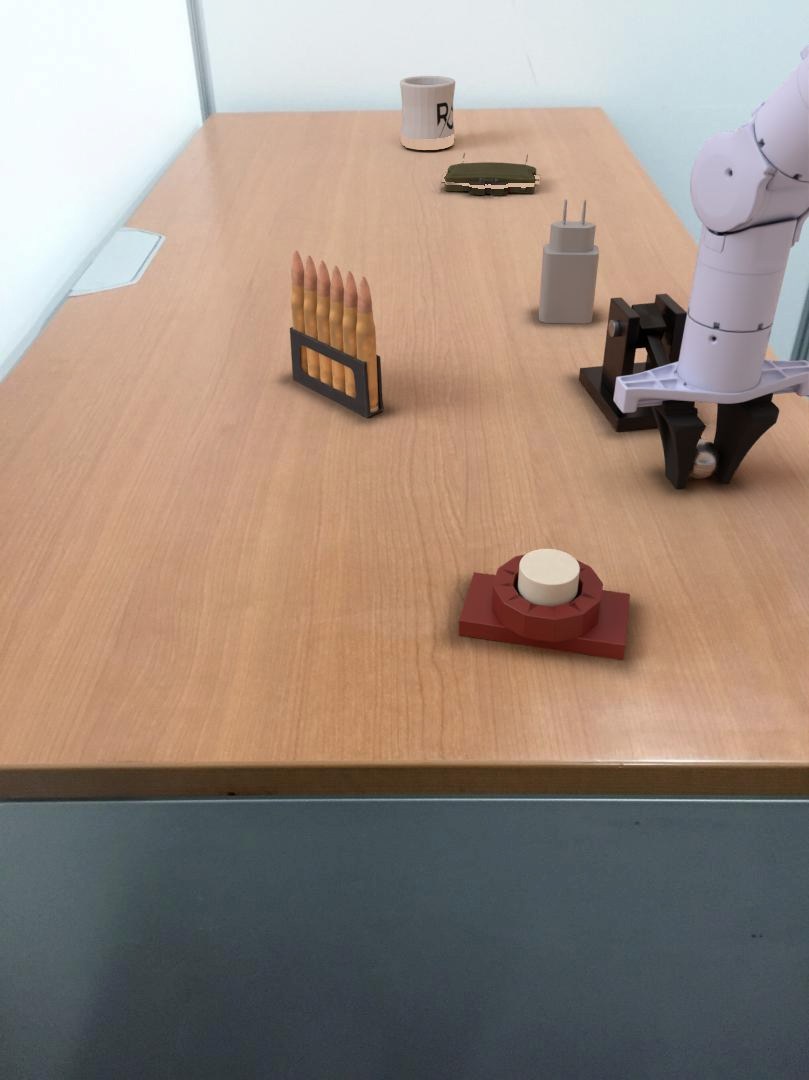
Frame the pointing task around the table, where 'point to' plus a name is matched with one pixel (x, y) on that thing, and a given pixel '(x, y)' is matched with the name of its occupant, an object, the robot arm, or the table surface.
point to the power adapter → (569, 272)
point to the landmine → (490, 177)
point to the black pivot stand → (630, 359)
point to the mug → (427, 107)
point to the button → (548, 577)
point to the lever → (650, 339)
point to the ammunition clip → (334, 337)
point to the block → (546, 614)
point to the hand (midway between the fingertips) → (695, 482)
